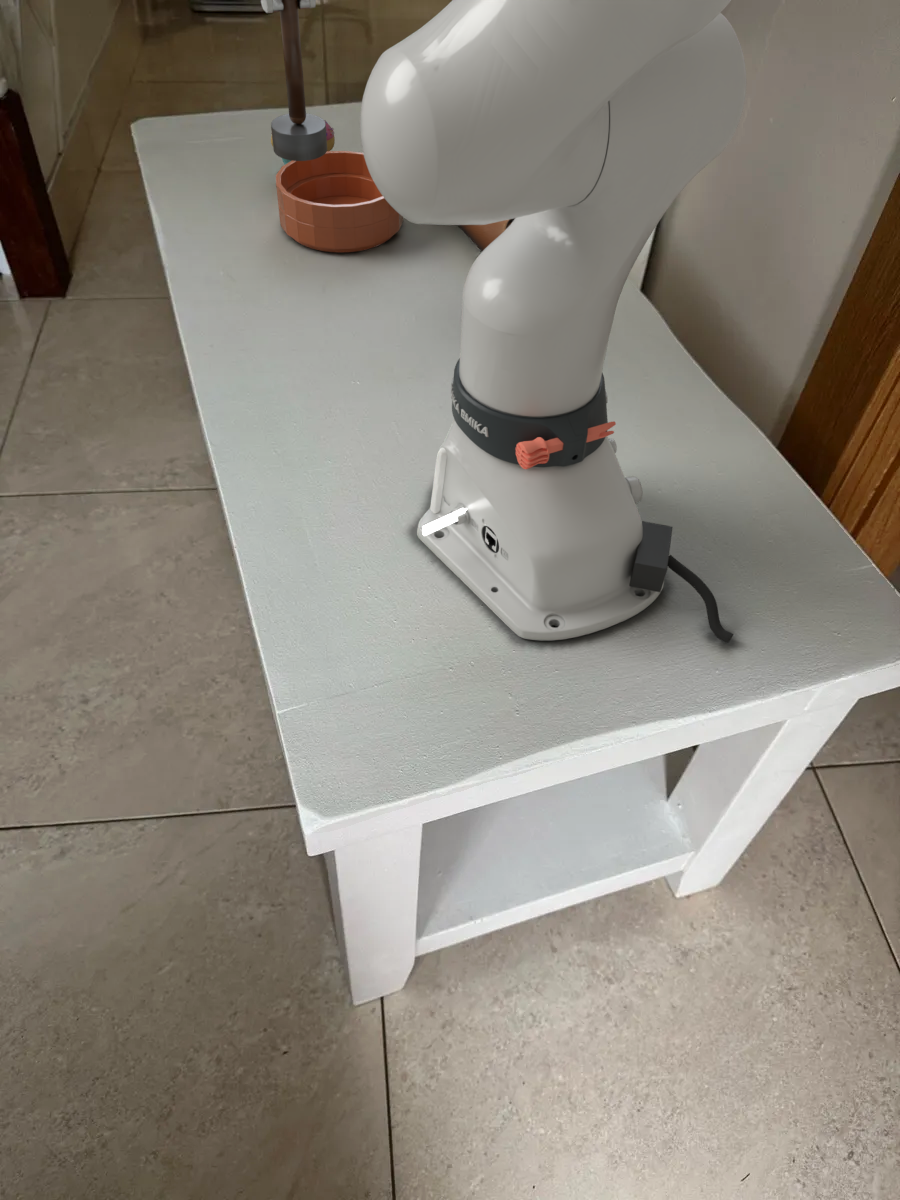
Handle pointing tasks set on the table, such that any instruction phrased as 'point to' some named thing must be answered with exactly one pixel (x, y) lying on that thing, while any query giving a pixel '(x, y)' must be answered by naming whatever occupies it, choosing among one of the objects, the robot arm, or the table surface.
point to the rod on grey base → (296, 100)
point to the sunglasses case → (485, 232)
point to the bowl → (334, 204)
